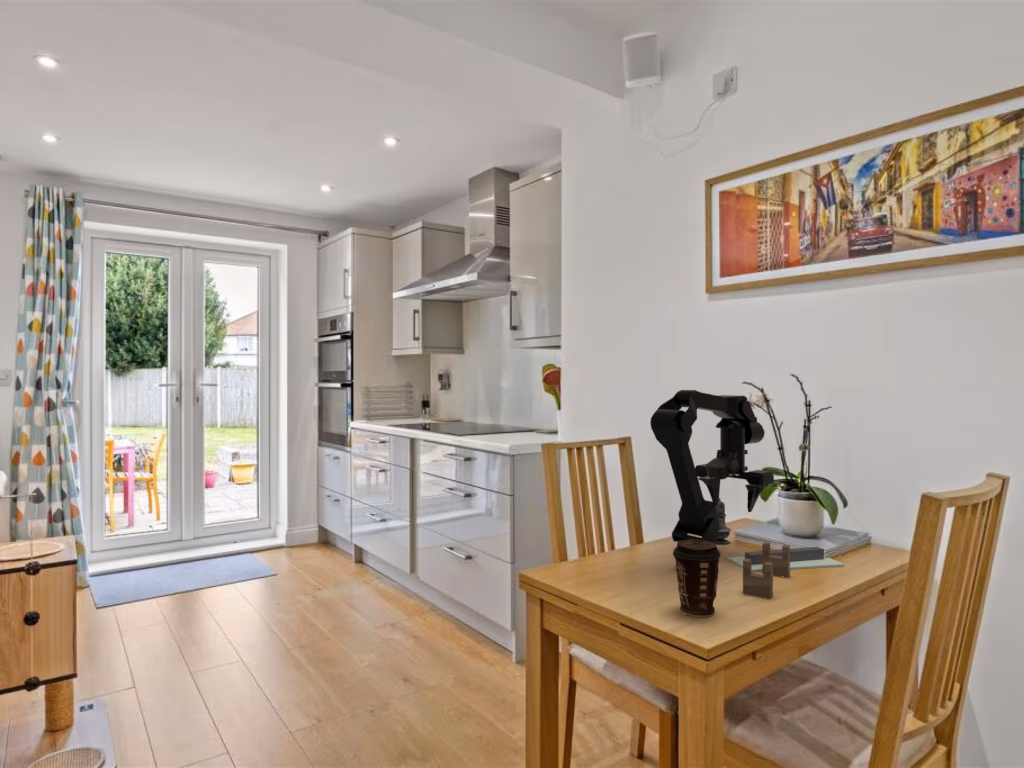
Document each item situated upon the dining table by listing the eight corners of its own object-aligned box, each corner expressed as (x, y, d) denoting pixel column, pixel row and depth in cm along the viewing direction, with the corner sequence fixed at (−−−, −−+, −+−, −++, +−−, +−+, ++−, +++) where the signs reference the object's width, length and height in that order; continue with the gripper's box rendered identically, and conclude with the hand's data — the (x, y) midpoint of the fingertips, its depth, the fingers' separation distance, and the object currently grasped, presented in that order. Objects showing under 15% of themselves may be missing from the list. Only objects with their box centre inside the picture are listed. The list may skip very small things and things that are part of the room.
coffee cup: (698, 600, 125) (698, 535, 125) (730, 614, 118) (730, 545, 117) (664, 608, 121) (664, 541, 121) (696, 623, 113) (696, 551, 113)
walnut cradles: (770, 598, 126) (770, 565, 126) (742, 593, 129) (742, 560, 129) (789, 575, 140) (789, 545, 140) (764, 571, 144) (764, 541, 143)
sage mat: (750, 571, 143) (750, 569, 143) (728, 559, 153) (728, 557, 153) (844, 566, 147) (844, 564, 147) (816, 554, 157) (816, 552, 157)
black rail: (750, 565, 147) (750, 554, 147) (744, 562, 149) (744, 552, 149) (824, 559, 151) (824, 549, 151) (817, 556, 154) (817, 546, 154)
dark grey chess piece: (727, 539, 172) (727, 496, 172) (733, 545, 166) (733, 500, 166) (706, 539, 173) (706, 495, 172) (710, 544, 167) (710, 499, 167)
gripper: (681, 445, 157) (681, 507, 157) (750, 451, 142) (750, 520, 142) (706, 442, 164) (706, 501, 164) (774, 448, 149) (774, 513, 149)
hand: (732, 508), depth 155 cm, fingers open, 9 cm apart
